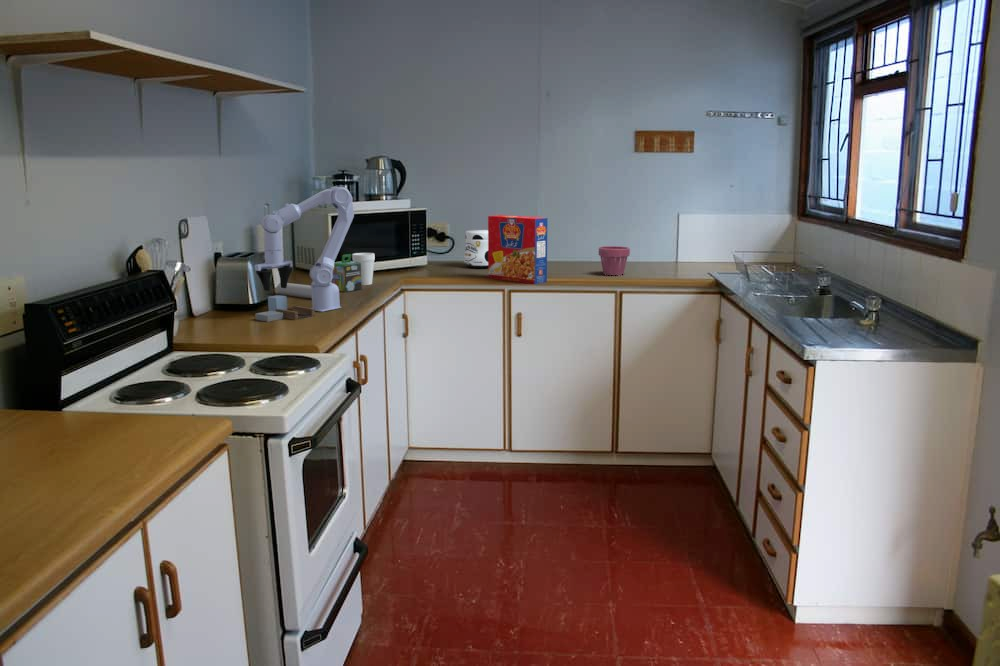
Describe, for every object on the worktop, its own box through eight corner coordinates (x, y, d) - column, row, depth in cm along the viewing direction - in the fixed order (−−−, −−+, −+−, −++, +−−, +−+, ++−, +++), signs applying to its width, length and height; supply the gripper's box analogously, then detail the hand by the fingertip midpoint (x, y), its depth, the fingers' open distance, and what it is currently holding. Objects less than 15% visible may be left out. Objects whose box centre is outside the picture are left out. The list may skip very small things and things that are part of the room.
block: (279, 311, 279) (278, 295, 278) (287, 313, 277) (286, 296, 275) (268, 313, 276) (267, 296, 274) (277, 315, 273) (276, 298, 272)
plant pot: (621, 272, 378) (622, 245, 376) (633, 276, 365) (634, 248, 362) (593, 273, 375) (594, 246, 372) (604, 277, 361) (605, 249, 359)
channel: (295, 312, 277) (295, 305, 277) (314, 315, 272) (314, 308, 271) (276, 316, 271) (275, 309, 270) (295, 319, 265) (294, 312, 264)
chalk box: (348, 287, 333) (346, 252, 330) (362, 289, 327) (361, 254, 324) (330, 290, 326) (329, 254, 323) (345, 292, 320) (343, 256, 317)
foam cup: (379, 282, 346) (378, 253, 343) (369, 286, 337) (368, 255, 334) (359, 281, 349) (358, 252, 346) (349, 284, 340) (348, 254, 337)
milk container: (459, 268, 392) (458, 232, 388) (470, 264, 408) (470, 229, 404) (492, 270, 387) (492, 233, 383) (502, 265, 403) (502, 230, 399)
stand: (271, 316, 271) (270, 310, 270) (283, 318, 267) (282, 312, 266) (255, 319, 266) (255, 313, 265) (267, 321, 262) (267, 315, 261)
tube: (271, 285, 315) (315, 290, 301) (281, 279, 319) (324, 284, 305) (276, 297, 318) (319, 302, 304) (285, 291, 321) (328, 296, 307)
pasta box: (488, 277, 360) (488, 216, 354) (500, 276, 366) (500, 215, 360) (534, 284, 341) (535, 219, 336) (546, 282, 347) (547, 218, 341)
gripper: (282, 247, 280) (284, 285, 283) (248, 251, 269) (250, 290, 272) (295, 248, 276) (297, 287, 279) (261, 252, 265) (263, 292, 268)
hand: (275, 289), depth 275 cm, fingers open, 7 cm apart
